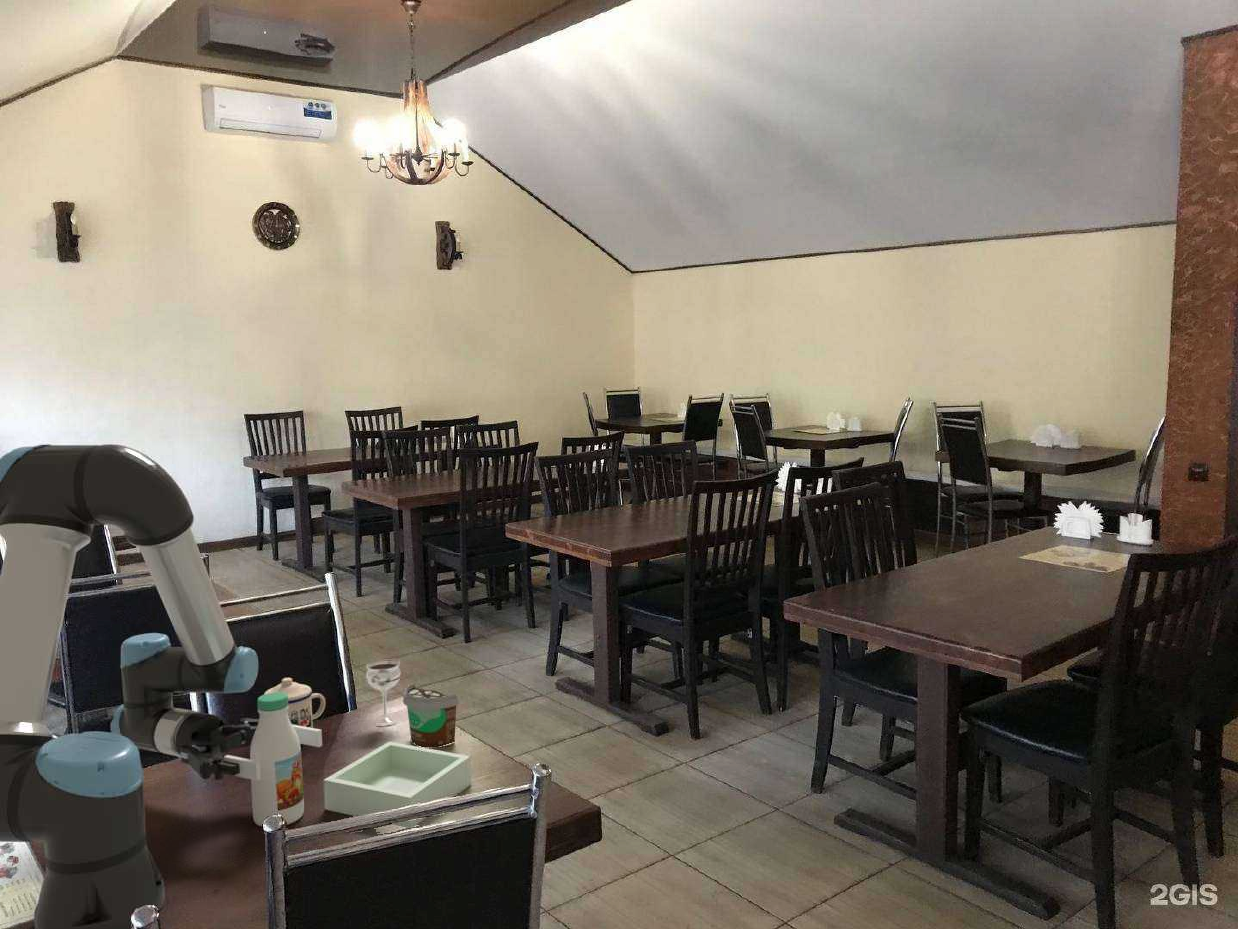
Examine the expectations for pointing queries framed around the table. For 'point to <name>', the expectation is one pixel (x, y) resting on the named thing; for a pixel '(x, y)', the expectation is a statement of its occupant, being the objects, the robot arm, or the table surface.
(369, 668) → the wineglass
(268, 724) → the milk bottle
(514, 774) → the table surface
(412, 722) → the food container
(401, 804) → the pale green tray
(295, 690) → the teacup with lid
